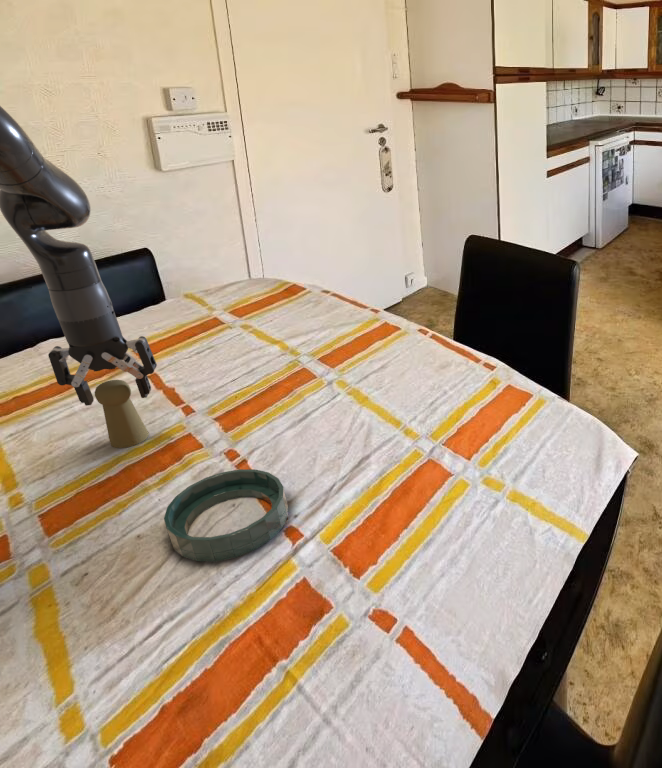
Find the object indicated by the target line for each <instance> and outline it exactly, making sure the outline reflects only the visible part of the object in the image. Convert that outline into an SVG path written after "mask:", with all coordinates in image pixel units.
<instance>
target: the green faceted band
mask: <svg viewBox="0 0 662 768" xmlns="http://www.w3.org/2000/svg"><path fill="white" fill-rule="evenodd" d="M238 498H255V499H258V500H259V499H260V500H262V501H264V502H266V503H267V504H269V505H270V507H271V508H270V510H268V511H267V513H265V514H264V515H263V516H262V517H261V518H259V519H257V520H256V521H254V522H252V523H251V524H249V525H247V526H246V527H243V528H240V529H237V530H235V531H233V532H229V533H225V534H219V535H214V536H191V535H189V534H188V533H189V529H190V526H191V525H192V523H193V522H194V521H195V519H196V518H197V517H198V516H200V515H201V514H202V513H203V512H204V511H205V510H208V509H209V508H211V507H213V506H215V505H217V504H220V503H222V502H225V501H228V500H233V499H238ZM288 517H289V505H288V501H287V497H286V492H285V488H284V485H283V483H282V482H281V480H280V479H279V478H278V477H277V476H276V475H274V474H272V473H270V472H269V471H264V470H260V469H249V468H248V469H246V468H245V469H243V468H241V469H233V470H228V471H222V472H219V473H216V474H212V475H210V476H205V477H204V478H202V479H200V480H198V481H196V482H194V483H192V484H191V485H188V486H186V488H185V489H183V490H181V492H179V493H178V494H177V495H175V497H174V498H173V500H172V501H170V503H169V505H168V506H167V507H166V510H165V513H164V516H163V521H164V525H165V528H166V531H167V534H168V537H169V539H170V542H171V545H172V548H173V550H174V551H175V552H176V553H178V554H179V555H180V556H181V557H182V558H186V559H189V560H192V561H196V562H221V561H225V560H230V559H235V558H238V557H241V556H243V555H246V554H248V553H251V552H253V551H255V550H257V549H258V548H260V547H262V546H263V545H265V544H267V543H268V542H270V541H271V540H272V539H273V538H274V537H275V536H276V535H277V534H278V533H279V532H280V531H281V530H282V529H283V527H284V525H285V524H286V521H287V519H288Z"/></svg>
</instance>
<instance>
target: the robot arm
mask: <svg viewBox="0 0 662 768" xmlns="http://www.w3.org/2000/svg"><path fill="white" fill-rule="evenodd" d="M91 211H92V209H91V203H90V200H89V198H88V195H87V193H86V192H85V190H84V189H83V188H82V187H81V185H80V184H79V183H78V182H77V181H76V180H75V179H74V178H72V177H71V176H70V175H69V174H67V172H65V171H64V170H62V169H61V168H60V167H58V166H56V164H54V163H53V162H51V160H49V159H47V158H46V157H45V156H43V154H42V153H41V151H40V150H39V149H38V148H37V146H36V144H35V143H34V142H33V140H32V139H31V137H30V136H29V135H28V134H27V132H26V131H25V130H24V128H23V127H22V126H21V125H20V124H19V122H17V121H16V119H15V118H13V117H12V116H11V114H10V113H9V112H8V111H7V110H5V109H4V108H3V106H1V105H0V212H1V214H2V216H3V218H4V219H5V221H6V222H7V224H8V225H9V226H10V227H11V229H12V230H13V231H14V232H15V233H16V235H17V236H18V237H19V238H20V240H21V241H22V243H23V244H24V245H25V247H26V248H27V249H28V251H29V252H30V254H31V255H32V257H33V258H34V260H35V261H36V264H37V265H38V268H39V270H40V271H41V274H42V277H43V280H44V281H45V284H46V287H47V289H48V290H47V291H48V293H49V296H50V301H51V304H52V307H53V310H54V313H55V315H56V318H57V320H58V323H59V325H60V327H61V330H62V333H63V335H64V338H65V340H66V342H67V344H68V347H64V348H62V347H61V346H60V345H56V346H54V347H53V348H52V349H51V350H50V351H49V352H48V359H49V362H50V365H51V368H52V371H53V373H54V377H55V379H56V383H57V384H58V385H59V386H65V385H66V386H71V387H72V388H74V390H75V393H76V396H77V398H78V401H79V402H80V403H81V404H83V405H84V406H86V407H87V406H92V404H93V403H94V400H95V399H94V396H93V393H92V391H91V388H90V386H89V382H88V380H85V378H86V377H87V374H88V372H89V370H91V371H93V372H95V373H96V372H100V371H103V370H115V369H116V368H117V369H120V370H121V371H123V372H125V373H128V374H129V375H131V376H133V377H134V378H135V379H134V381H135V383H136V387H137V389H138V392H139V396H140V398H141V399H145V398H148V396H149V395H150V393H151V391H152V386H151V383H150V380H149V377H148V375H152V374H154V373H155V370H156V368H157V366H158V364H157V362H156V359H155V356H154V354H153V352H152V348H151V347H150V344H149V342H148V339H147V338H146V337H145V336H143V335H142V336H139V337H138V338H136V339H130V340H127V339H125V337H124V336H123V334H122V329H121V327H120V324H119V321H118V318H117V316H116V313H115V310H114V307H113V302H112V299H111V298H110V295H109V293H108V291H107V288H106V286H105V284H104V283H103V281H102V278H101V275H100V272H99V269H98V266H97V264H96V260H95V258H94V255H93V252H92V251H91V248H90V247H89V246H88V245H86V244H84V243H81V242H75V241H65V240H60V239H58V238H55V237H54V236H52V235H51V234H50V233H49V232H48V231H52V230H54V231H55V230H64V229H74V228H79V227H81V226H83V225H84V224H86V223H87V222H88V220H89V219H90V216H91ZM129 349H132V351H133V352H134V353H135V354H138V356H139V358H140V361H141V363H142V364H141V363H140V362H138V361H137V359H136V358H135V357H133V356H132V355H131V354H129V353H127V352H128V351H129ZM69 357H70V358H72V359H73V360H75V362H77V363H79V364H80V365H79V366H78V368H77V370H76V372H75V373H74V374H71V371H70V369H69V365H68V363H67V360H68V359H69Z"/></svg>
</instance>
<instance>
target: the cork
mask: <svg viewBox="0 0 662 768" xmlns="http://www.w3.org/2000/svg"><path fill="white" fill-rule="evenodd" d="M131 395H132V389H131V387H130V385H129V384H128V382H126V381H125V380H123V379H110V380H107V381H104V382H101V383H100V384H99V385H97V386H96V387H95V390H94V397H95V399H96V401H97V403H99V404H100V405H102V409H103V415H104V420H105V424H106V430H107V433H108V434H107V435H108V440H109V445H110V446H111V447H113V448H116V449H125V448H131V447H133V446H137V445H139V444H141V443H142V442H144V441H145V440H147V439H148V438H149V436H150V435H149V434H150V433H149V431H148V429H147V427H146V426H145V423H144V422H143V420H142V418H141V416H140V413H138V410H137V409H136V407H135V404H133V403H134V402H133V401H132V399H131Z"/></svg>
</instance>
